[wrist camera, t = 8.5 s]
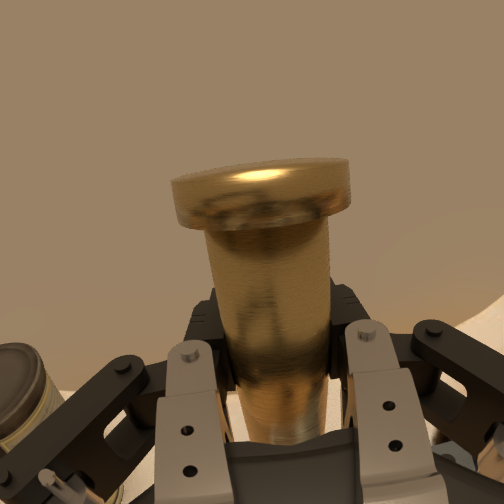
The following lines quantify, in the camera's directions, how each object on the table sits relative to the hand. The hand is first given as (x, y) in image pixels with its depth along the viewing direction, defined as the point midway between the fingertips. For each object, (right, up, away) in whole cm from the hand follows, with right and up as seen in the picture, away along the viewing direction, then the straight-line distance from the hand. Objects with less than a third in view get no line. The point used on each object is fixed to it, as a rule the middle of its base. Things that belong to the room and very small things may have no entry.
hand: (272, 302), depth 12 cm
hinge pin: (+1, -7, 0) cm, 7 cm away
